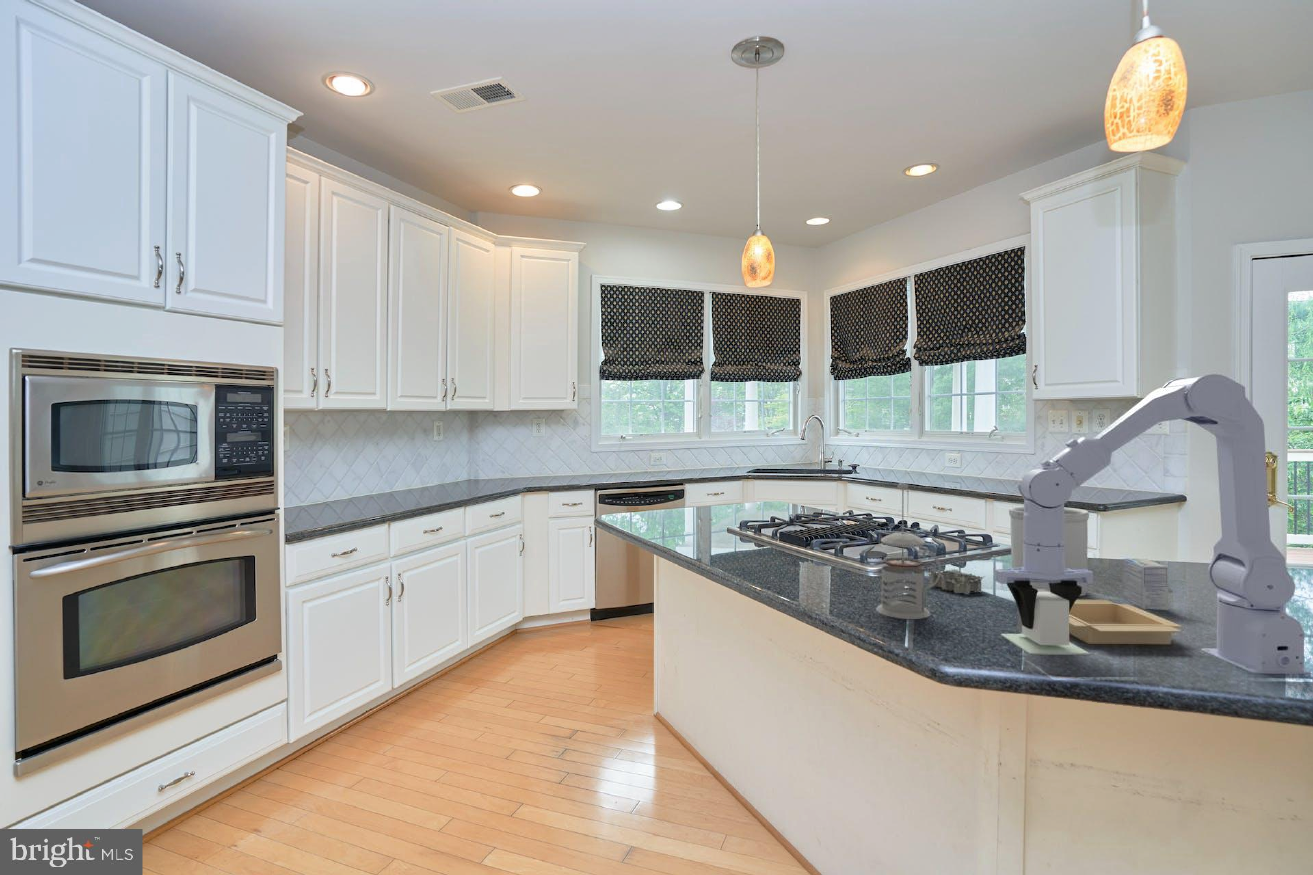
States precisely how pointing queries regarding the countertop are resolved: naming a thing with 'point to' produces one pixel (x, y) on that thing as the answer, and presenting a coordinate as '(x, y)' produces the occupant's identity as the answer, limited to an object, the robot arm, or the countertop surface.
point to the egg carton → (956, 581)
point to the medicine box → (1145, 583)
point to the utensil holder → (1073, 541)
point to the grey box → (1048, 620)
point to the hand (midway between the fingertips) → (1043, 627)
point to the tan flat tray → (1118, 624)
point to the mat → (1043, 646)
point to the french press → (904, 577)
